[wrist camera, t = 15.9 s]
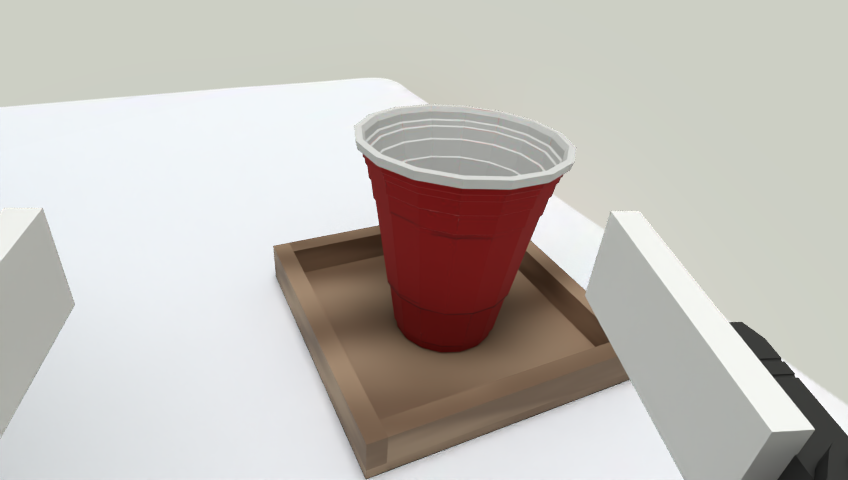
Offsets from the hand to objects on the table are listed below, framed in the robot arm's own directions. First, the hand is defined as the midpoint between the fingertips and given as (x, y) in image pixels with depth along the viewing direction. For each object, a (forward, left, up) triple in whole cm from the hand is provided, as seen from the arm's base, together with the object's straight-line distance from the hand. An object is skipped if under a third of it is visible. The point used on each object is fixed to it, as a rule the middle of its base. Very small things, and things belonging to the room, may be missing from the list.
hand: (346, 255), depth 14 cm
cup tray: (-12, +10, -15) cm, 22 cm away
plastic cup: (-12, +10, -15) cm, 21 cm away
